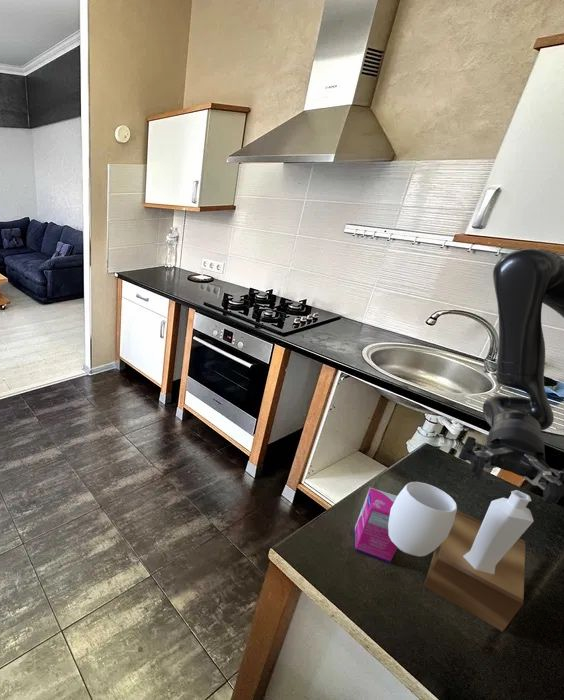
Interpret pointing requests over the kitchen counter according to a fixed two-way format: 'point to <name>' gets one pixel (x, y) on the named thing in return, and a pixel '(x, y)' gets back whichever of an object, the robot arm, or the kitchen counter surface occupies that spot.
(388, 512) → the supplement box
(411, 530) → the cup
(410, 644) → the kitchen counter surface
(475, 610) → the wood grain block
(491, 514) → the perfume bottle
